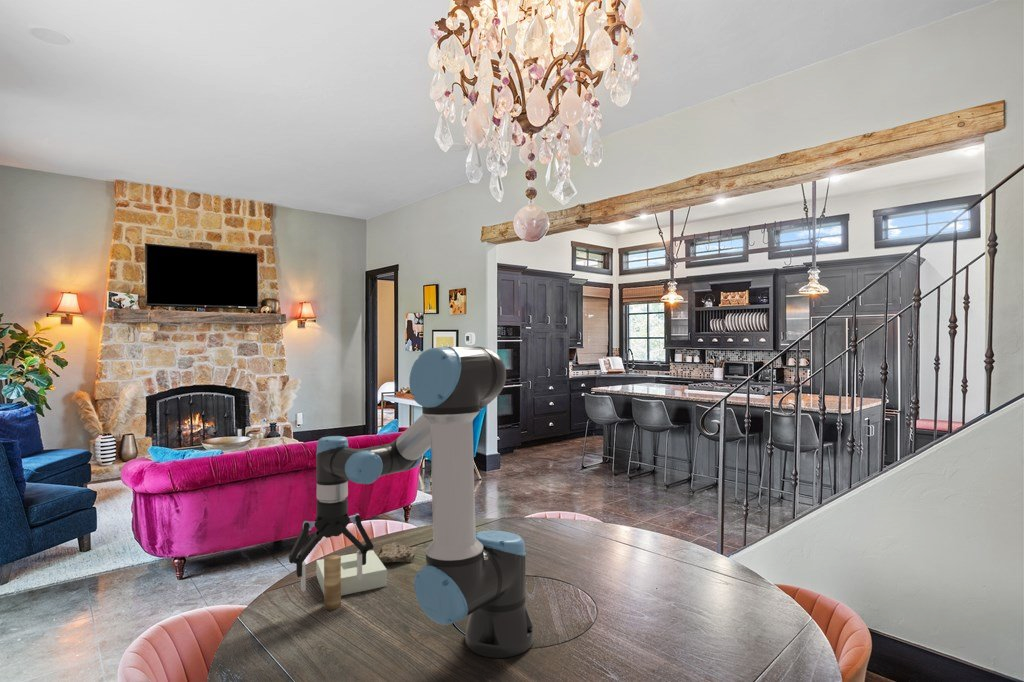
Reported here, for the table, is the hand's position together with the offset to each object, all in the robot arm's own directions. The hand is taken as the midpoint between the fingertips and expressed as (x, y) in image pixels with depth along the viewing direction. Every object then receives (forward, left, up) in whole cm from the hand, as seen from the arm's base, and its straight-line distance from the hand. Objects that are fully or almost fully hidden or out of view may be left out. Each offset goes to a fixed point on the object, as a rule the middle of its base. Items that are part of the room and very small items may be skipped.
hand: (332, 583), depth 137 cm
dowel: (0, 0, -6) cm, 6 cm away
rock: (+22, -22, -6) cm, 32 cm away
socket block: (+13, -7, -6) cm, 16 cm away
